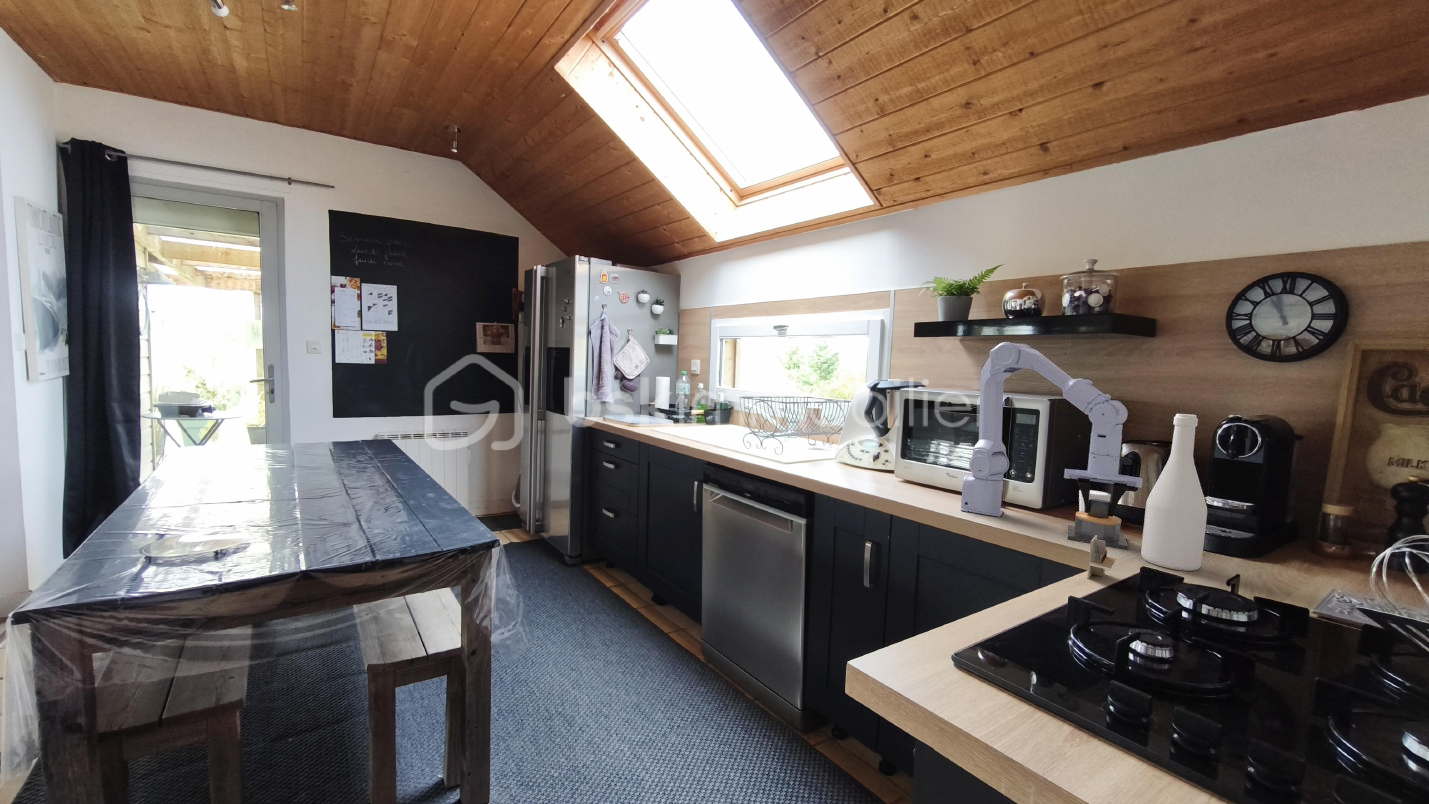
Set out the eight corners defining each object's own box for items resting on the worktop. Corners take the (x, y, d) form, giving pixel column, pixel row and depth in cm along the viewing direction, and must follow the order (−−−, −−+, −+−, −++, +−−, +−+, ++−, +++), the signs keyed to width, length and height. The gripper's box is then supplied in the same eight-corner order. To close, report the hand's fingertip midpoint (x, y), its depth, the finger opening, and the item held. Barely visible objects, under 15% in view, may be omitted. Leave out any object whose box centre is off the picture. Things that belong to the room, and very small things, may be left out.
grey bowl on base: (1067, 539, 130) (1069, 520, 130) (1067, 528, 140) (1069, 510, 139) (1127, 549, 125) (1129, 529, 124) (1123, 537, 134) (1125, 519, 134)
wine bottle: (1173, 572, 111) (1190, 416, 109) (1128, 555, 120) (1144, 411, 118) (1213, 571, 113) (1231, 417, 111) (1166, 555, 122) (1182, 412, 120)
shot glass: (1098, 516, 153) (1101, 490, 153) (1114, 523, 147) (1116, 496, 146) (1071, 514, 154) (1073, 488, 153) (1085, 521, 147) (1088, 494, 147)
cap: (1074, 531, 131) (1077, 501, 130) (1074, 522, 138) (1076, 494, 137) (1121, 538, 126) (1124, 508, 126) (1118, 529, 134) (1121, 500, 133)
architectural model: (1114, 578, 108) (1118, 539, 107) (1108, 588, 103) (1112, 547, 102) (1092, 573, 110) (1096, 534, 109) (1085, 583, 105) (1089, 542, 104)
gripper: (1066, 452, 131) (1061, 511, 132) (1146, 460, 124) (1139, 523, 125) (1066, 449, 137) (1061, 505, 138) (1142, 456, 130) (1136, 516, 131)
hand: (1098, 513), depth 132 cm, fingers closed on cap, 4 cm apart
